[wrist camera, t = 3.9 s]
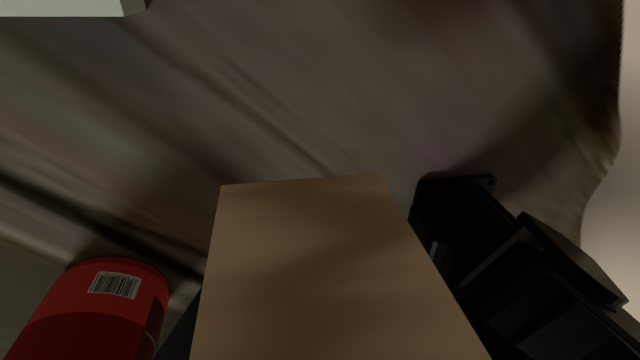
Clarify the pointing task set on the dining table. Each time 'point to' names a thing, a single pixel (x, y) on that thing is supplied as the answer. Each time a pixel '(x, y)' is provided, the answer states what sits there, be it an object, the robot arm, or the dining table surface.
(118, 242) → the dining table surface
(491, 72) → the dining table surface
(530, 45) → the dining table surface
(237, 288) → the block
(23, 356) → the canned food
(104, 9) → the base
